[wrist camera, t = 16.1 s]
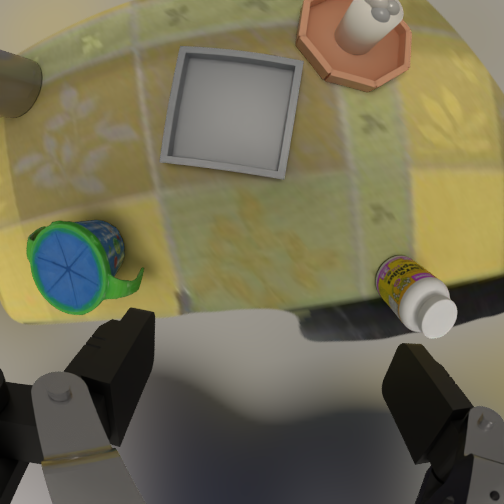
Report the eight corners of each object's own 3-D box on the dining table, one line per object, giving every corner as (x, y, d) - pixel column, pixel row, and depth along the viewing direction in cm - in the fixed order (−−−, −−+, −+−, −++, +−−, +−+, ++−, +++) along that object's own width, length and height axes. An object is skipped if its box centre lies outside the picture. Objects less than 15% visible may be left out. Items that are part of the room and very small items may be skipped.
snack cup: (166, 238, 39) (140, 263, 30) (138, 304, 42) (111, 342, 32) (69, 187, 37) (24, 198, 28) (50, 253, 40) (9, 277, 30)
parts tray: (166, 161, 37) (159, 162, 34) (185, 53, 33) (180, 46, 30) (281, 178, 37) (284, 179, 34) (299, 68, 33) (303, 61, 31)
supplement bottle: (409, 246, 40) (461, 279, 27) (420, 286, 41) (467, 328, 29) (367, 267, 40) (408, 309, 28) (381, 306, 42) (419, 356, 30)
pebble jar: (331, 48, 32) (357, 10, 21) (337, 16, 30) (362, -27, 20) (369, 60, 32) (407, 29, 21) (374, 29, 31) (409, -8, 20)
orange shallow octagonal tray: (290, 73, 34) (293, 67, 31) (304, -15, 30) (307, -26, 27) (396, 101, 34) (407, 98, 31) (403, 14, 30) (412, 7, 28)
